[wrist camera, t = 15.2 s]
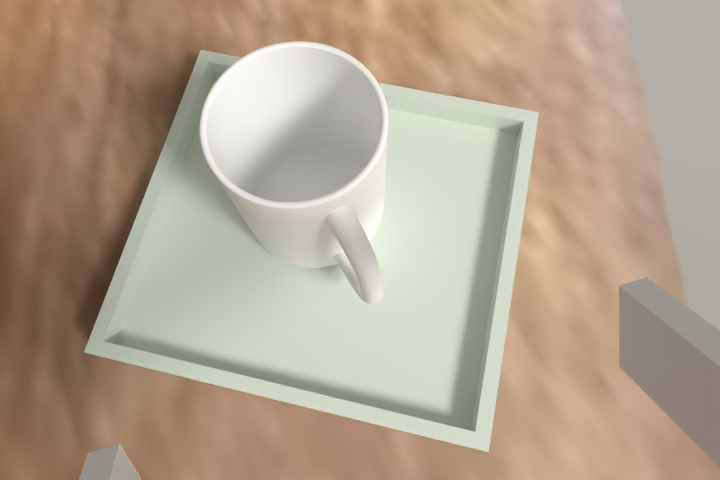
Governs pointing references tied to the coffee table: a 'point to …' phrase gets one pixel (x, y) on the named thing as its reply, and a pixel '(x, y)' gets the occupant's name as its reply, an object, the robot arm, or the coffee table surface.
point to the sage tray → (337, 275)
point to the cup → (303, 155)
